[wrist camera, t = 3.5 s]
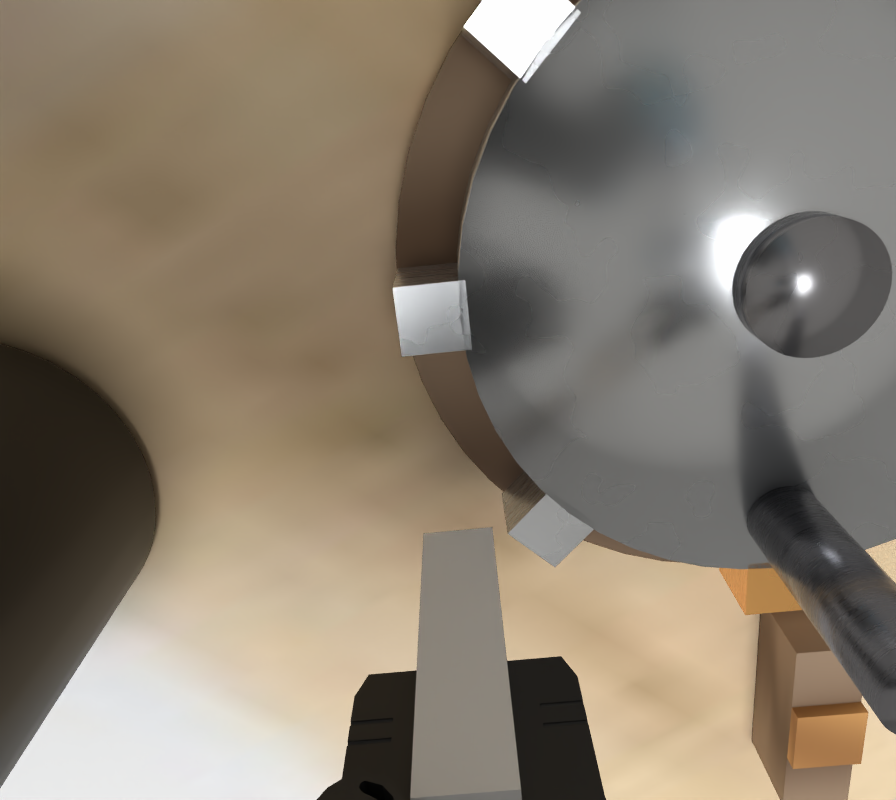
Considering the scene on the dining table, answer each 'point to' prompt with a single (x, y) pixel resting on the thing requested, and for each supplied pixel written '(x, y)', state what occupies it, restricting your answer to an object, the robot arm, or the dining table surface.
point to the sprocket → (691, 294)
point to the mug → (60, 534)
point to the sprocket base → (436, 241)
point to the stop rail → (805, 711)
